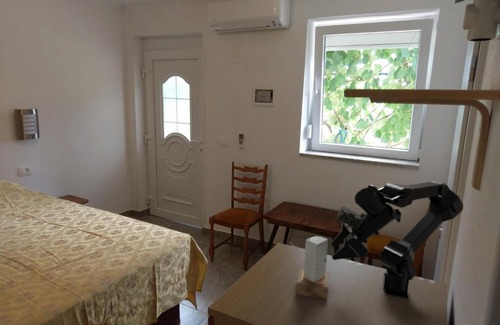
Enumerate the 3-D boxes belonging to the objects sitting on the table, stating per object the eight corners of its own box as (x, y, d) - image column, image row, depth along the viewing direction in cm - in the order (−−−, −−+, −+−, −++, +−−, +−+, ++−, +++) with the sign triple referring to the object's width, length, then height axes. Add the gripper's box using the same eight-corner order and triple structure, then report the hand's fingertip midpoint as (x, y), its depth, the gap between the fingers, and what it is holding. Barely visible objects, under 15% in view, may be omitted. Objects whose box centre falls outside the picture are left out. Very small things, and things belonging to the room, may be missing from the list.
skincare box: (314, 282, 99) (317, 244, 97) (302, 276, 102) (304, 239, 100) (326, 275, 103) (329, 239, 101) (314, 270, 106) (316, 234, 104)
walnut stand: (328, 283, 106) (329, 271, 106) (326, 299, 98) (327, 286, 97) (299, 279, 109) (300, 267, 108) (296, 294, 100) (297, 281, 99)
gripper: (352, 191, 105) (314, 220, 109) (359, 209, 87) (313, 244, 91) (376, 217, 105) (337, 246, 109) (387, 241, 87) (340, 274, 91)
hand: (332, 251), depth 100 cm, fingers open, 9 cm apart
